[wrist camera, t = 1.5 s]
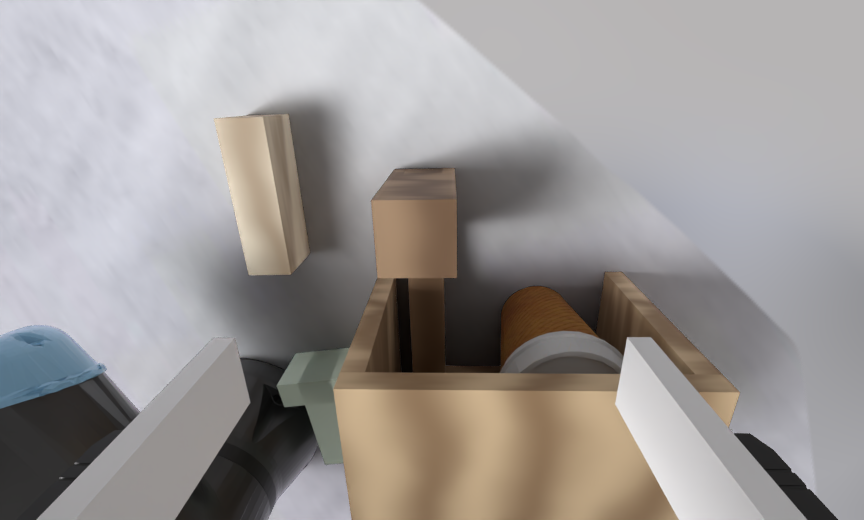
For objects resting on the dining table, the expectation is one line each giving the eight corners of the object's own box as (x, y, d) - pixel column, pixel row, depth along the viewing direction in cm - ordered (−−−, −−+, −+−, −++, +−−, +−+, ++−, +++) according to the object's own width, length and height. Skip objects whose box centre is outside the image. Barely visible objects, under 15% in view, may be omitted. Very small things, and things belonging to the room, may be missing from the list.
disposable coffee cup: (479, 275, 37) (492, 351, 26) (586, 264, 36) (646, 338, 25) (487, 361, 41) (502, 460, 30) (584, 353, 40) (637, 452, 29)
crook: (407, 385, 42) (393, 477, 32) (394, 169, 34) (371, 200, 24) (562, 386, 41) (599, 481, 31) (589, 165, 33) (651, 196, 23)
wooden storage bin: (389, 402, 43) (357, 562, 28) (379, 273, 37) (333, 389, 23) (599, 404, 42) (681, 571, 27) (621, 271, 36) (740, 392, 22)
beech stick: (273, 253, 37) (248, 275, 33) (246, 115, 33) (213, 118, 28) (310, 252, 37) (291, 274, 33) (289, 113, 33) (262, 116, 28)
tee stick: (320, 428, 45) (305, 466, 40) (295, 353, 41) (276, 385, 37) (382, 422, 44) (374, 460, 40) (362, 345, 41) (351, 377, 36)
